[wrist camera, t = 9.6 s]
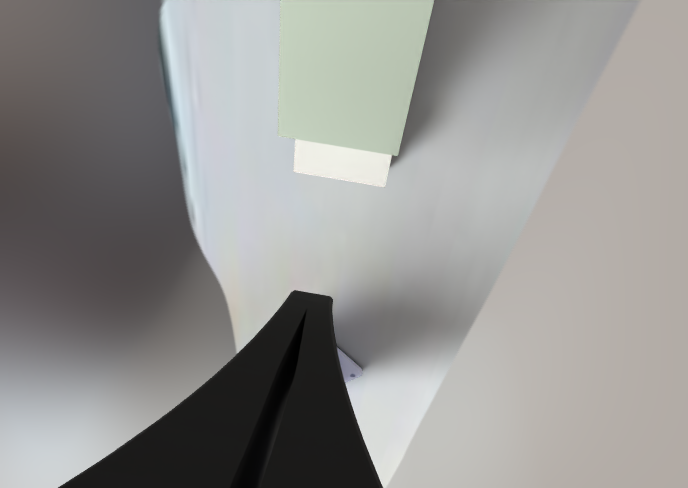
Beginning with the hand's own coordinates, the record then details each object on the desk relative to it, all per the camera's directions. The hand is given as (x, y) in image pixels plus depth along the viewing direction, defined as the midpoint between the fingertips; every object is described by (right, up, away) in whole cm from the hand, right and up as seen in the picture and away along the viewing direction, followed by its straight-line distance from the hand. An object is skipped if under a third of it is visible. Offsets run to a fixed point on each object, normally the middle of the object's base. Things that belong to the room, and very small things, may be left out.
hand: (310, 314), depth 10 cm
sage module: (+2, +10, +3) cm, 11 cm away
